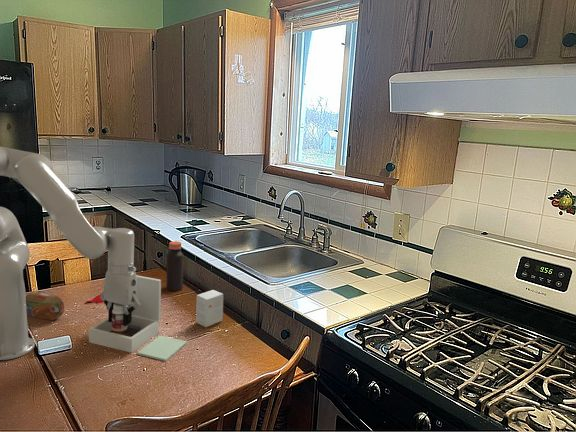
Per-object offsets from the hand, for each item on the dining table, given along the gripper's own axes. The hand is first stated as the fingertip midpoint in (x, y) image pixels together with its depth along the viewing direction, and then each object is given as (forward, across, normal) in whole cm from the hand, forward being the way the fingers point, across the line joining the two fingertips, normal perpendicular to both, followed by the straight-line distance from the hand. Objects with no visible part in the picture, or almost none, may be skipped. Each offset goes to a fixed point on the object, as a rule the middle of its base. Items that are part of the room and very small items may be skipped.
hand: (119, 321), depth 140 cm
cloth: (+7, +25, -29) cm, 39 cm away
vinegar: (+6, +8, -46) cm, 47 cm away
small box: (+5, -20, -24) cm, 31 cm away
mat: (+6, -16, -1) cm, 17 cm away
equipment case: (+6, -1, -2) cm, 6 cm away
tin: (+7, +33, -3) cm, 34 cm away
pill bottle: (+2, 0, 0) cm, 2 cm away
